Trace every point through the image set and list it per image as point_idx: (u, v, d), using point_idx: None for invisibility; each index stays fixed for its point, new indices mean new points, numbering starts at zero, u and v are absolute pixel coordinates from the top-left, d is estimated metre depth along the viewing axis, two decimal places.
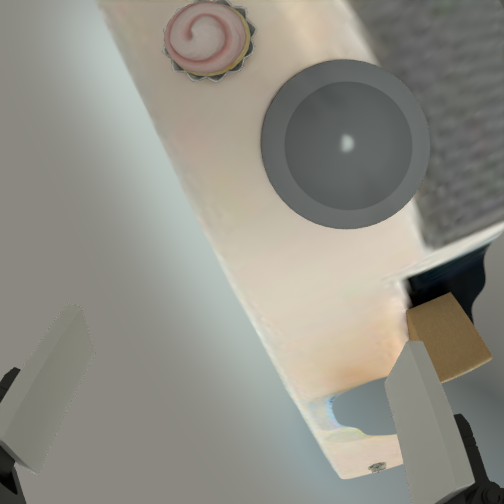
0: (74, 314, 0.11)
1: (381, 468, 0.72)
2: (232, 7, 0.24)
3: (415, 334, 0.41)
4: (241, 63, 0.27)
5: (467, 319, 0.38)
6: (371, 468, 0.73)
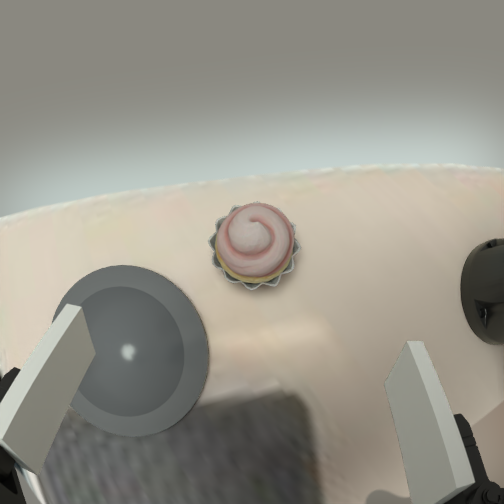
0: (74, 314, 0.11)
1: None
2: (280, 273, 0.32)
3: None
4: (220, 266, 0.33)
5: None
6: None
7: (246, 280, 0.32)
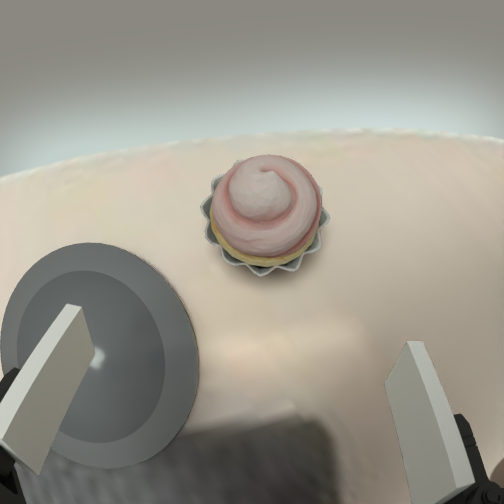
0: (74, 314, 0.11)
1: None
2: (301, 253, 0.22)
3: None
4: (216, 243, 0.23)
5: None
6: None
7: (253, 262, 0.22)
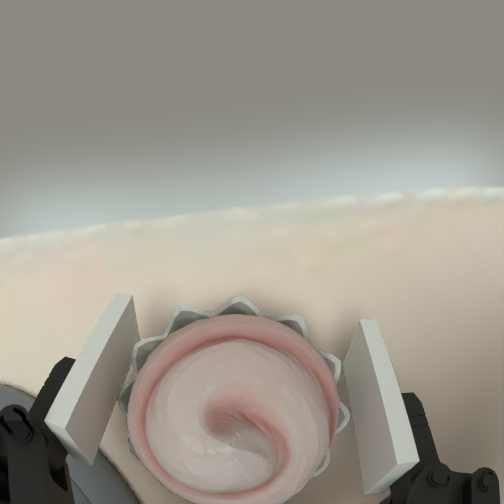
0: (126, 302, 0.12)
1: None
2: None
3: None
4: None
5: None
6: None
7: None
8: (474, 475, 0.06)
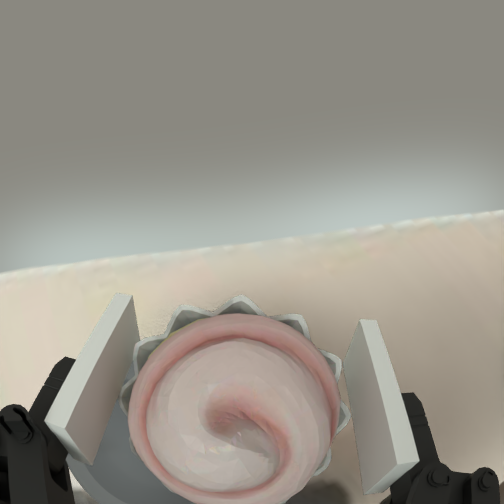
0: (126, 302, 0.12)
1: None
2: None
3: None
4: None
5: None
6: None
7: None
8: (474, 475, 0.06)
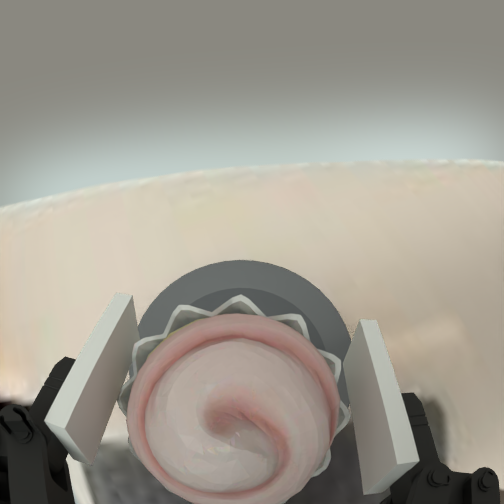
0: (126, 302, 0.12)
1: None
2: None
3: None
4: None
5: None
6: None
7: None
8: (474, 475, 0.06)
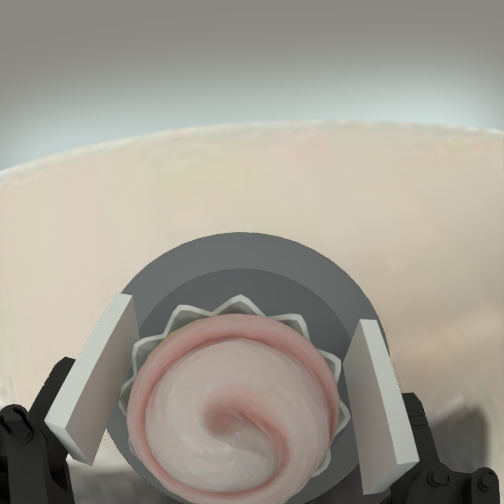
0: (126, 302, 0.12)
1: None
2: None
3: None
4: None
5: None
6: None
7: None
8: (474, 475, 0.06)
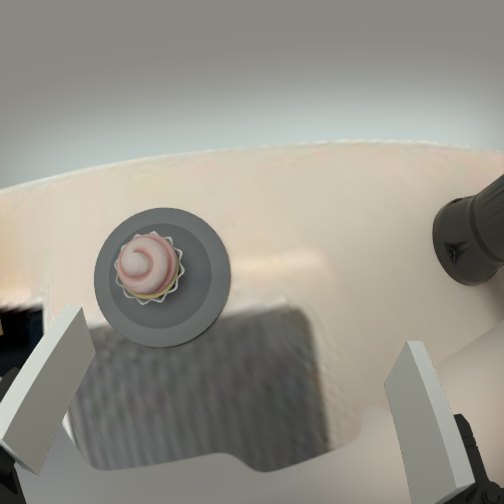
0: (74, 314, 0.11)
1: None
2: (165, 292, 0.38)
3: None
4: (122, 284, 0.39)
5: None
6: None
7: (139, 296, 0.38)
8: None
